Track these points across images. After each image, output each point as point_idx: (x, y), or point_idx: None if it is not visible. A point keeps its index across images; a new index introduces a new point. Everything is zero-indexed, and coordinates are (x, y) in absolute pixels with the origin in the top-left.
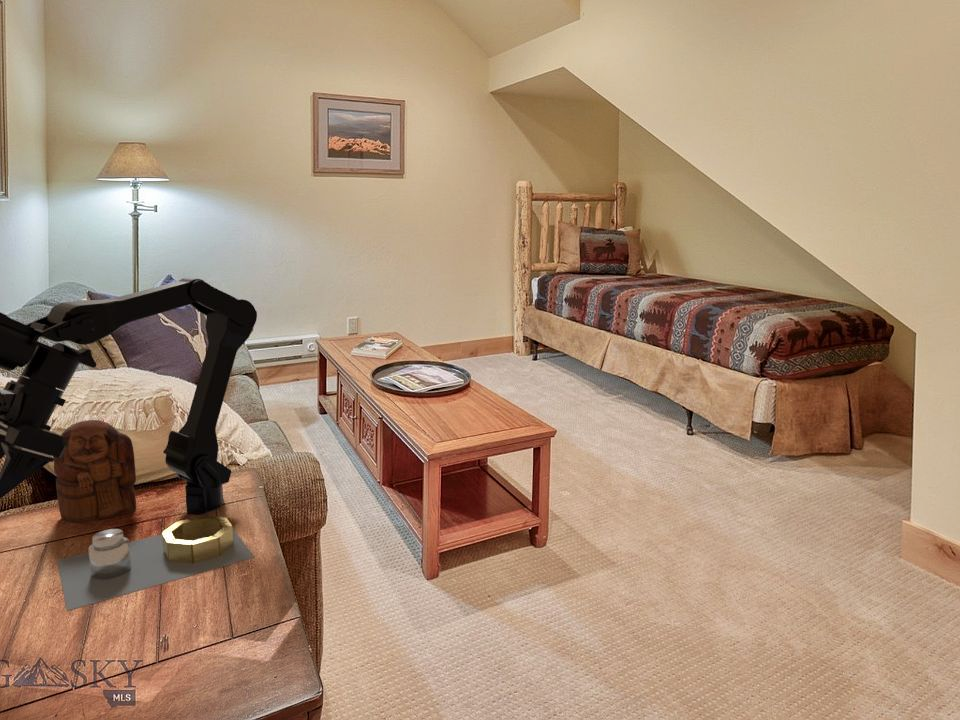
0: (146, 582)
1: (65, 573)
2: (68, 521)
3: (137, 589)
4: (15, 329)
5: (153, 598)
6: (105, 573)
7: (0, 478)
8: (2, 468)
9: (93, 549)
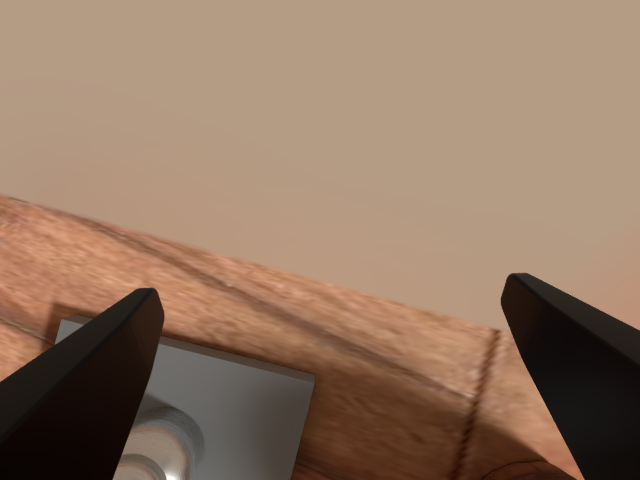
0: None
1: (230, 372)
2: (522, 476)
3: None
4: None
5: None
6: None
7: (44, 353)
8: (18, 406)
9: (134, 452)
